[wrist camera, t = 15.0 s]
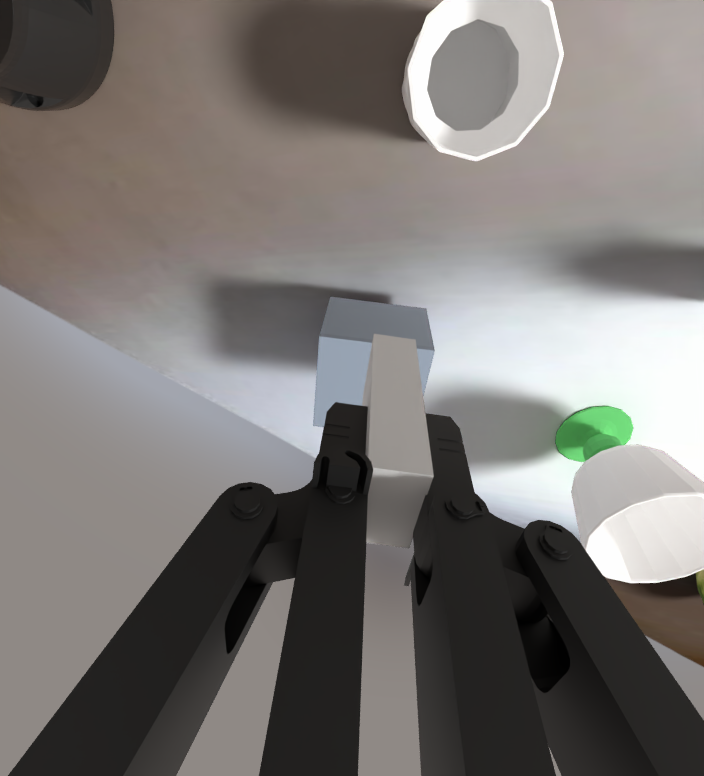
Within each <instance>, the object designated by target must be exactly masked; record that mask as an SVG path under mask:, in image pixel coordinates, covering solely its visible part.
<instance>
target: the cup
mask: <svg viewBox="0 0 704 776" xmlns="http://www.w3.org/2000/svg"><path fill="white" fill-rule="evenodd" d="M632 431H633V425H632V422H631V418H630V417H629V416H628V415H627V414H626V413H624V412H623V411H622V410H621V409H617V408H613V407H609V406H601V407H591V408H588V409H585V410H582V411H579V412H577V413H575V414H574V415H572V416H571V417H570V418H568V419H567V420H565V421H564V422H563V424H562V425H561V427H560V428H559V430H558V431H557V434H556V440H555V443H556V446H557V448H558V450H559V452H560V453H561V454H562V455H564V456H565V457H567V458H568V459H571V460H575V461H579V462H584V464H583V465H582V466H581V467H580V469H579V470H578V471H577V472H576V474H575V477H574V481H573V486H572V491H571V493H572V498H573V503H574V508H575V514H576V519H577V524H578V529H579V535H580V540H581V544H582V546H583V547H584V549H585V550H586V552H587V553H588V554H589V556H590V557H591V559H592V560H593V562H594V563H595V565H596V566H597V567H598V569H599V570H600V572H601V573H602V575H603V576H605V577H607V578H610V579H614V580H619V581H623V582H628V583H659V582H663V581H668V580H673V579H677V578H682V577H687V576H689V575H691V574H694V573H696V572H698V571H701V570H703V569H704V482H703V481H701V480H700V479H699V478H697V477H696V476H695V475H694V474H692V473H691V472H690V471H688V470H687V469H686V468H685V467H683V466H682V465H681V464H679V463H678V462H677V461H676V460H674V459H673V458H672V457H670V456H669V455H668V454H667V453H665V452H664V451H661V450H658V449H654V448H650V447H646V446H642V445H638V444H636V445H625V444H626V443H627V442H628V441H629V439H630V437H631V434H632Z"/></svg>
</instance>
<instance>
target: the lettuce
mask: <svg viewBox="0 0 704 776" xmlns="http://www.w3.org/2000/svg"><path fill="white" fill-rule="evenodd" d="M696 581H697V588H698V592H699V594H700V596H701V598H702V600H703V604H704V569H703V570H701V571H698V572H696Z"/></svg>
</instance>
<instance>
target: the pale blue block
mask: <svg viewBox="0 0 704 776" xmlns="http://www.w3.org/2000/svg"><path fill="white" fill-rule="evenodd" d="M374 334H380V335H387V336H394V337H401V338H408V339H415V340H416V347H417V354H418V362H419V369H420V377H421V384H422V392H423V396H424V392H425V388H426V384H427V379H428V375H429V371H430V367H431V363H432V359H433V355H434V351H435V350H434V345H433V340H432V335H431V330H430V325H429V320H428V315H427V310H426V309H425V308H417V307H409V306H401V305H393V304H385V303H377V302H369V301H361V300H353V299H345V298H337V297H330V300H329V303H328V307H327V310H326V314H325V318H324V321H323V325H322V328H321V332H320V335H319V347H318V361H317V376H316V390H315V405H314V420H313V426H318V427H324V424H325V419H326V413H327V411H328V410H329V409H330V408H331V406H332V405H333V404H334V403H335V402H339V403H346V404H353V405H360V406H362V402H363V392H364V387H365V381H366V375H367V369H368V364H369V358H370V352H371V346H372V340H373V335H374Z"/></svg>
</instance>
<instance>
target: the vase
mask: <svg viewBox="0 0 704 776" xmlns="http://www.w3.org/2000/svg"><path fill="white" fill-rule="evenodd" d="M563 56H564V52H563V48H562V43H561V39H560V34H559V30H558V25H557V21H556V17H555V12H554V8H553V3H552V2H551V1H550V0H443V1H442V2H441V3H440V4H439V5H438V6H437V7H436V8H435V9H433V10H432V11H431V12H430V13H429V14H428V15H427V16H426V19H425V22H424V25H423V27H422V30H421V32H420V33H419V34H418V36H417V37H416V39H415V41H414V45H413V48H412V50H411V51H410V53H409V56H408V58H407V62H406V66H405V72H404V81H403V85H402V96H403V101H404V104H405V108H406V110H407V113H408V116H409V120H410V123H411V125H412V126H413V127H414V129H415V130H416V131H417V132H418V133H419V134H420V135H421V136H422V137H423V138H424V139H425V140H426V141H427V142H428V143H429V144H430V145H431V146H432V147H434V148H435V149H436V150H437V151H439V152H442V153H446V154H450V155H454V156H456V157H459V158H463V159H467V160H472V161H479V160H481V159H484V158H486V157H489V156H491V155H494V154H497V153H499V152H502V151H504V150H507V149H509V148H512V147H514V146H517V145H518V144H519V142H520V141H521V140H522V139H523V138H524V136H525V135H526V134H527V133H528V132H529V131H530V129H531V128H532V127H533V126H534V125H535V123H536V122H537V121H538V120H539V119H540V118H541V116H542V115H543V114H544V113H545V112H546V111H547V109H548V108H549V107H550V103H551V100H552V96H553V92H554V89H555V85H556V81H557V78H558V74H559V71H560V67H561V63H562V60H563Z"/></svg>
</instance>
